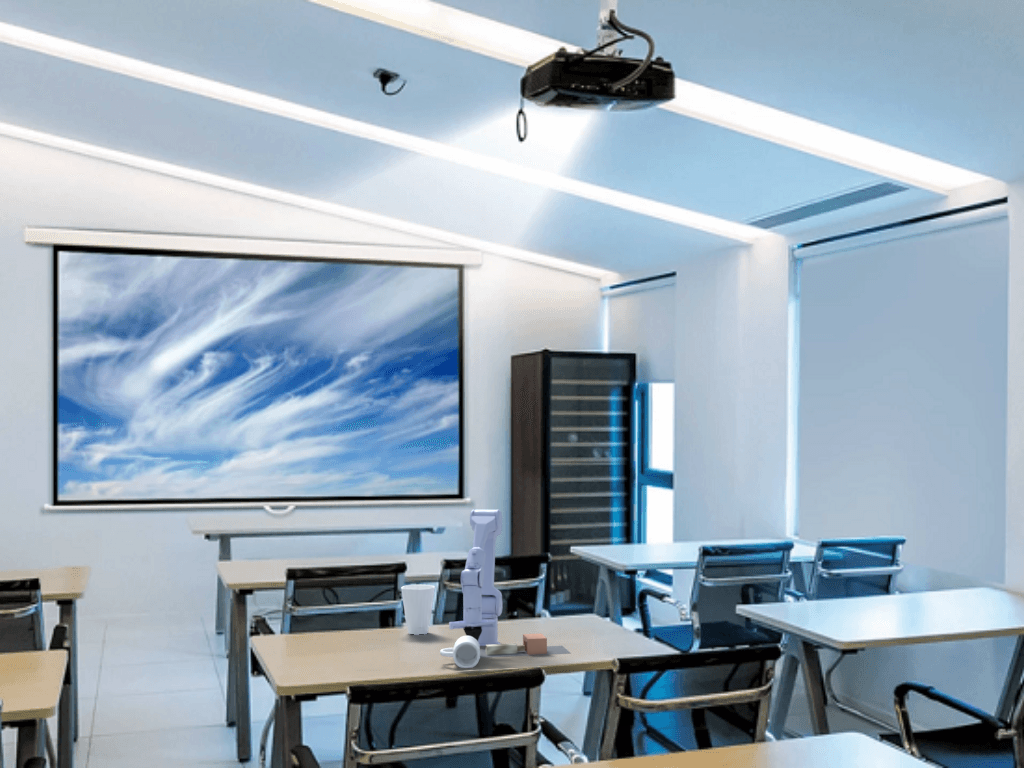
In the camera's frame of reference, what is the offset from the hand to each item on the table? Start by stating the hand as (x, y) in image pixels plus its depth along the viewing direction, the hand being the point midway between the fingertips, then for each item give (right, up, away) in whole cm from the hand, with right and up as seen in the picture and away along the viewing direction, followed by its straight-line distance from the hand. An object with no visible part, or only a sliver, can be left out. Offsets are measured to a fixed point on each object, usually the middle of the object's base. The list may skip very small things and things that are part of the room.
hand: (472, 651), depth 328 cm
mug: (-3, -1, -13) cm, 13 cm away
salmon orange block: (+19, -1, +4) cm, 20 cm away
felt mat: (+14, -1, +4) cm, 14 cm away
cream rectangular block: (+10, -1, +2) cm, 10 cm away
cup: (-20, -4, +38) cm, 43 cm away
